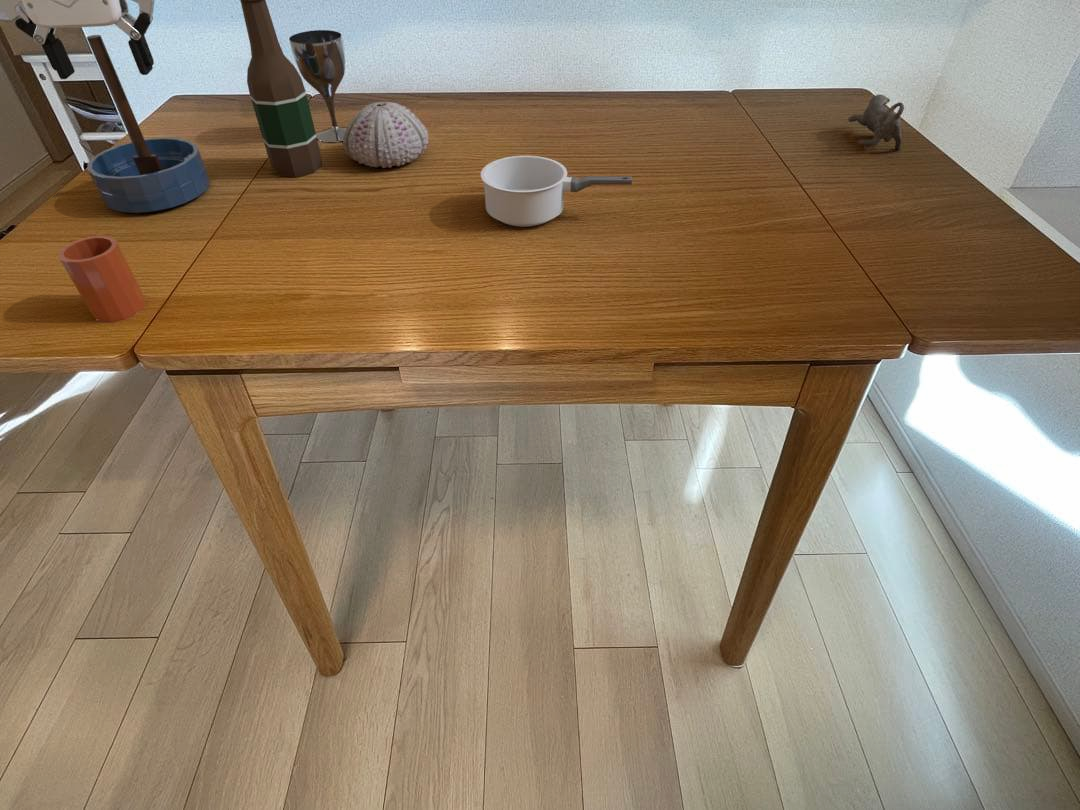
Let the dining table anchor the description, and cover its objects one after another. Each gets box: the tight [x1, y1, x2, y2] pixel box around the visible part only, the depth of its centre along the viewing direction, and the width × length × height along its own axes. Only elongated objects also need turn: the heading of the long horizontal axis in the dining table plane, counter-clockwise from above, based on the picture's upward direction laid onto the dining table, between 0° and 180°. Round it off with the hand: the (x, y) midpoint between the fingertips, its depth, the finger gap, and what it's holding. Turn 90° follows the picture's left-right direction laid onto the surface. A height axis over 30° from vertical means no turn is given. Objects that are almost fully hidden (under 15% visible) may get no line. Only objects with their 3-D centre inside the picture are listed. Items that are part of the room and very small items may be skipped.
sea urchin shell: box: [341, 101, 430, 169], centre depth 102 cm, size 13×14×8 cm
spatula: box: [86, 34, 163, 175], centre depth 88 cm, size 3×2×20 cm, turn 99°
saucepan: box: [480, 155, 633, 228], centre depth 88 cm, size 12×20×6 cm, turn 82°
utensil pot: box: [58, 235, 147, 323], centre depth 71 cm, size 5×6×8 cm
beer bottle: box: [239, 0, 323, 178], centre depth 93 cm, size 8×8×24 cm
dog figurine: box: [847, 94, 905, 151], centre depth 105 cm, size 12×6×7 cm, turn 179°
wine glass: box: [288, 29, 347, 143], centre depth 106 cm, size 8×8×15 cm
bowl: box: [87, 137, 211, 214], centre depth 93 cm, size 14×14×6 cm
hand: (108, 73), depth 84 cm, fingers open, 9 cm apart
